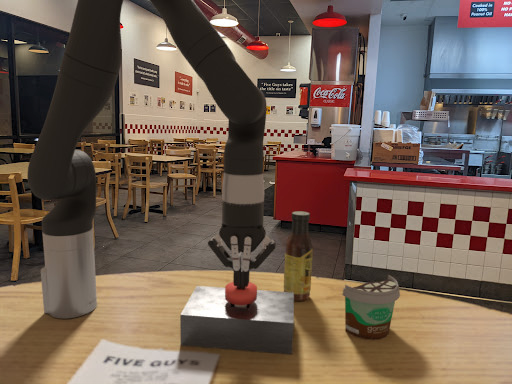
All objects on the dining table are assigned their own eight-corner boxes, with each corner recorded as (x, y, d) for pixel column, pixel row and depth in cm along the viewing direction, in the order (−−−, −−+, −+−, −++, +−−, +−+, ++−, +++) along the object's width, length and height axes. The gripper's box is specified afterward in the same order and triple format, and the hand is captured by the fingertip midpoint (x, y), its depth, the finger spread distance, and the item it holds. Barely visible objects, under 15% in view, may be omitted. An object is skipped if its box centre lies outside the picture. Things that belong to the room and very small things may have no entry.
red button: (222, 328, 72) (222, 293, 70) (227, 312, 78) (228, 280, 76) (254, 330, 71) (255, 295, 70) (257, 314, 77) (258, 282, 76)
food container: (361, 350, 70) (366, 298, 68) (339, 333, 75) (343, 284, 74) (409, 334, 76) (415, 286, 74) (385, 319, 81) (390, 274, 79)
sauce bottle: (309, 304, 87) (314, 218, 83) (281, 300, 88) (285, 215, 84) (311, 291, 93) (315, 211, 89) (285, 288, 94) (288, 209, 91)
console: (180, 345, 70) (180, 314, 69) (196, 312, 82) (196, 285, 80) (292, 354, 68) (293, 323, 67) (292, 319, 80) (293, 292, 79)
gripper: (202, 200, 67) (202, 294, 70) (279, 203, 66) (275, 299, 69) (211, 192, 74) (210, 277, 77) (280, 195, 73) (277, 281, 76)
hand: (241, 287), depth 73 cm, fingers closed
